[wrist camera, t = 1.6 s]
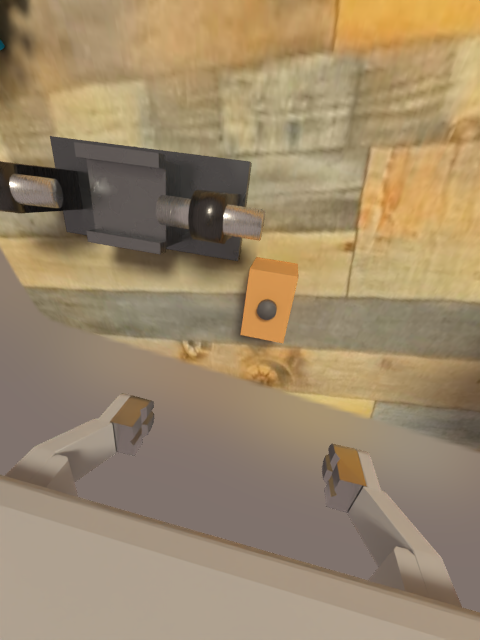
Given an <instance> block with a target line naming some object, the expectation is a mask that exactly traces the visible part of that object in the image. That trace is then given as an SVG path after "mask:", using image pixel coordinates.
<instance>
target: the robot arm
mask: <svg viewBox="0 0 480 640" xmlns="http://www.w3.org/2000/svg"><path fill="white" fill-rule="evenodd" d="M153 407H154V402H153V401H151V400H147V399H143V398H140V397H135V396H132V395H128V394H124V393H122V394H120V395H119V396H118V397H117V398H116V399H115V400H114V401H113V402H112V404H111V405H110V406H109V407H108V408H107V409H106V410H105V412H104V413H103V414H102V415H101V416H100V417H99V418H98V419H93V420H91V421H88V422H87V423H84V424H82V425H80V426H78V427H76V428H73V429H71V430H69V431H67V432H65V433H63V434H61V435H59V436H56V437H54V438H52V439H50V440H48V441H46V442H44V443H41V444H39V445H37V446H35V447H34V448H33V449H32V450H31V451H30V452H29V453H28V454H27V455H25V456H24V457H23V458H22V459H21V460H20V461H19V462H18V463H17V464H16V465H15V466H14V467H13V468H12V469H11V470H10V471H9V472H8V473H7V474H6V475H5V476H3V475H0V640H480V613H479V612H476V611H472V610H469V609H466V608H462V606H461V603H460V601H459V598H458V596H457V594H456V591H455V589H454V587H453V585H452V582H451V580H450V577H449V575H448V572H447V570H446V568H445V565H444V563H443V560H442V558H441V557H440V556H439V554H438V553H437V552H436V551H435V550H434V549H433V547H432V546H431V545H430V544H429V543H428V541H427V540H426V539H425V538H424V537H423V536H422V534H421V533H420V532H419V531H418V530H417V529H416V528H415V526H414V525H413V524H412V523H411V522H410V521H409V519H408V518H407V517H406V516H405V514H404V513H403V512H402V511H401V510H400V509H399V507H398V506H397V505H396V504H395V503H394V502H393V500H392V499H391V498H390V497H389V496H388V495H387V494H386V492H383V491H381V488H380V485H379V482H378V478H377V475H376V472H375V469H374V466H373V463H372V460H371V456H370V454H369V453H368V452H366V451H361V450H357V449H354V448H349V447H345V446H341V445H336V444H331V445H330V446H329V454H328V455H326V456H325V458H324V461H323V466H322V474H323V480H324V481H325V482H326V484H327V485H326V487H325V489H324V492H325V499H326V507H329V508H332V509H336V510H339V511H343V512H346V513H348V516H349V518H350V520H351V521H352V523H353V525H354V527H355V528H356V530H357V532H358V533H359V535H360V537H361V539H362V540H363V542H364V544H365V545H366V547H367V549H368V550H369V552H370V554H371V556H372V557H373V559H374V561H375V563H376V564H377V566H378V569H377V570H376V571H375V572H374V574H373V575H372V576H371V577H370V578H369V580H365V579H361V578H358V577H354V576H350V575H347V574H344V573H340V572H337V571H333V570H330V569H326V568H323V567H319V566H316V565H312V564H309V563H305V562H302V561H298V560H295V559H291V558H288V557H285V556H281V555H277V554H274V553H271V552H267V551H263V550H260V549H257V548H253V547H250V546H246V545H243V544H240V543H236V542H233V541H229V540H226V539H222V538H219V537H215V536H212V535H208V534H205V533H201V532H198V531H194V530H191V529H187V528H184V527H180V526H177V525H174V524H170V523H167V522H163V521H160V520H156V519H153V518H149V517H146V516H142V515H139V514H135V513H132V512H128V511H125V510H121V509H118V508H114V507H111V506H107V505H104V504H100V503H96V502H93V501H90V500H86V499H83V498H80V497H78V496H77V490H76V487H75V482H76V481H77V480H79V479H80V478H82V477H83V476H84V475H86V474H87V473H89V472H90V471H92V470H93V469H94V468H96V467H97V466H99V465H100V464H101V463H103V462H104V461H106V460H107V459H109V458H110V457H111V456H113V455H114V454H116V452H119V453H123V454H128V455H132V456H135V455H136V453H137V451H138V450H139V448H140V447H141V445H142V443H143V441H142V438H143V437H144V436H146V435H148V433H149V431H150V430H151V427H152V425H153V422H154V413H153V412H152V409H153Z"/></svg>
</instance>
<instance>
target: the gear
mask: <svg viewBox="0 0 480 640" xmlns="http://www.w3.org/2000/svg"><path fill="white" fill-rule="evenodd" d="M4 47H5V46H4V44H3V43H2V41H1V40H0V50H2V49H3V48H4Z"/></svg>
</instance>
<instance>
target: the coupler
mask: <svg viewBox="0 0 480 640" xmlns="http://www.w3.org/2000/svg"><path fill="white" fill-rule="evenodd" d="M297 281H298V264H296V263H289V262H283V261H277V260H271V259H265V258H259V257H256V259H255V261H254V262H253V264H252V266H251V267H250V271H249V278H248V285H247V292H246V299H245V307H244V314H243V321H242V328H241V335H244V336H249V337H254V338H259V339H264V340H269V341H274V342H279V343H283V341H284V337H285V333H286V328H287V324H288V320H289V315H290V311H291V307H292V302H293V298H294V294H295V289H296V285H297Z"/></svg>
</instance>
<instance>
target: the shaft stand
mask: <svg viewBox="0 0 480 640" xmlns="http://www.w3.org/2000/svg"><path fill="white" fill-rule="evenodd" d="M50 139H51V145H52V151H53V156H54V162H55V168H51V167H42V166H34V165H26V164H17V163H9V162H1V161H0V211H5V212H14V213H32V212H48V211H63V213H64V219H65V224H66V230H67V232H71V233H77V234H83V235H87V238H88V242H92V243H98V244H104V245H109V246H115V247H121V248H127V249H132V250H138V251H144V252H150V253H155V254H162V253H165V252H166V249H170V250H176V251H182V252H188V253H194V254H200V255H205V256H211V257H217V258H223V259H229V260H235V261H238V260H239V259H240V253H241V245H242V238H247V239H253V240H259V241H260V240H261V236H262V232H263V226H264V220H265V210H262V209H256V208H249V207H246V204H247V196H248V188H249V180H250V172H251V164H252V163H251V162H248V161H240V160H232V159H225V158H217V157H209V156H201V155H193V154H185V153H178V152H170V151H162V150H154V149H146V148H138V147H131V146H123V145H115V144H107V143H99V142H91V141H83V140H76V139H68V138H60V137H52V136H50Z"/></svg>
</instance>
